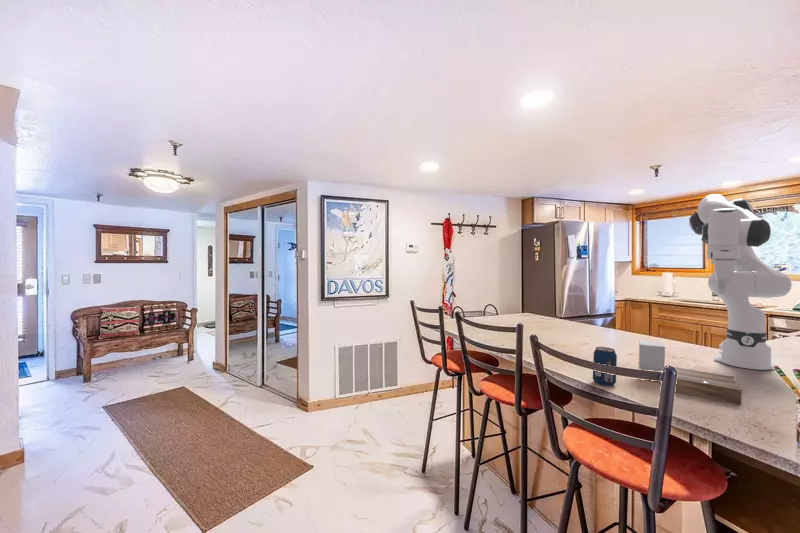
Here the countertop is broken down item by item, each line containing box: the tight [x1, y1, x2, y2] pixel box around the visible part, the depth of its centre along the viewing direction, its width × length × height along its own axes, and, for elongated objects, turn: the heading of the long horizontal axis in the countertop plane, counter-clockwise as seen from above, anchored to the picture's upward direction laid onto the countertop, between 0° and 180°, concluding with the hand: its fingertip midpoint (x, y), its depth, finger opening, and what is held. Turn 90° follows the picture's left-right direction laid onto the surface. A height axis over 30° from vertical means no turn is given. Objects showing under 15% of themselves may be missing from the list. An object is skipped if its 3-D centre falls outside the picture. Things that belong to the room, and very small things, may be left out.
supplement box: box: [638, 340, 666, 371], centre depth 132 cm, size 7×7×13 cm
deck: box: [675, 367, 743, 406], centre depth 123 cm, size 24×16×4 cm, turn 142°
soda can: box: [592, 346, 618, 388], centre depth 126 cm, size 7×7×12 cm
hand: (721, 293), depth 129 cm, fingers closed
